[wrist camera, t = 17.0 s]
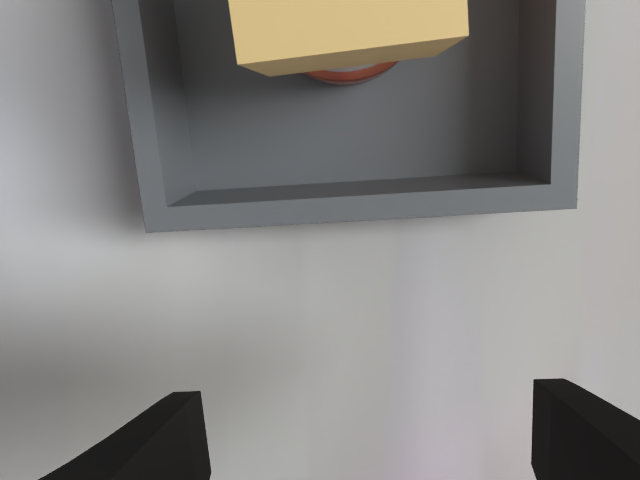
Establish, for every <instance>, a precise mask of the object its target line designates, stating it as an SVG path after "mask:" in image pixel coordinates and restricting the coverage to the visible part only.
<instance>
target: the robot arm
mask: <svg viewBox="0 0 640 480" xmlns="http://www.w3.org/2000/svg"><path fill="white" fill-rule="evenodd" d="M531 465H532V467H533V470H534V473H535V476H536V479H537V480H640V420H638V419H637V418H635V417H633V416H631V415H629V414H628V413H626V412H624V411H622V410H621V409H619V408H617V407H615V406H614V405H612V404H610V403H608V402H607V401H605V400H603V399H601V398H600V397H598V396H596V395H594V394H593V393H591V392H589V391H587V390H585V389H584V388H582V387H580V386H578V385H576V384H574V383H572V382H570V381H568V380H566V379H534V384H533V422H532V460H531ZM210 475H211V467H210V459H209V452H208V444H207V437H206V429H205V422H204V414H203V407H202V399H201V392H200V391H191V392H173V393H171V394H169V395H168V396H166V397H164V398H163V399H161V400H160V401H158V402H157V403H155V404H154V405H152V406H151V407H150V408H148V409H147V410H145V411H144V412H142V413H141V414H140V415H138V416H137V417H135V418H134V419H133V420H131V421H130V422H128V423H127V424H125V425H124V426H123V427H121V428H120V429H118V430H117V431H115V432H114V433H113V434H111V435H110V436H108V437H107V438H105V439H104V440H102V441H101V442H99V443H98V444H96V445H94V446H93V447H91V448H90V449H88V450H87V451H85V452H84V453H82V454H80V455H79V456H77V457H76V458H74V459H73V460H71V461H70V462H68V463H66V464H65V465H63V466H61V467H60V468H58V469H56V470H54V471H53V472H51V473H49V474H47V475H46V476H44V477H42V478H40V479H38V480H209V479H210Z"/></svg>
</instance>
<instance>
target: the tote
mask: <svg viewBox="0 0 640 480" xmlns="http://www.w3.org/2000/svg"><path fill="white" fill-rule="evenodd" d="M111 1H112V8H113V15H114V21H115V28H116V35H117V42H118V48H119V55H120V62H121V69H122V75H123V82H124V89H125V96H126V102H127V109H128V116H129V123H130V129H131V136H132V143H133V150H134V157H135V163H136V170H137V177H138V184H139V190H140V197H141V204H142V211H143V217H144V224H145V231H146V233H152V232H170V231H187V230H205V229H223V228H241V227H259V226H277V225H294V224H312V223H330V222H348V221H366V220H384V219H401V218H419V217H437V216H455V215H473V214H491V213H509V212H526V211H544V210H562V209H577V189H578V165H579V142H580V119H581V96H582V73H583V50H584V27H585V4H586V0H467V5H468V26H469V36H467V37H466V38H464V39H463V40H461V41H459V42H458V43H456V44H454V45H453V46H451V47H449V48H448V49H446V50H445V51H443V52H441V53H440V54H438V55H436V56H434V57H426V58H418V59H409V60H401V61H399V62H398V63H397V64H396V65H395V66H394V67H392V68H391V69H390V70H388V71H387V72H386V73H384V74H382V75H381V76H379V77H377V78H375V79H373V80H370V81H368V82H364V83H361V84H356V85H332V84H327V83H323V82H320V81H317V80H315V79H313V78H311V77H309V76H307V75H306V74H304V73H295V74H287V75H279V76H271V77H269V76H266V75H263V74H261V73H258V72H256V71H253V70H250V69H248V68H245V67H242V66H240V65H237V59H236V52H235V44H234V37H233V30H232V23H231V16H230V9H229V2H228V0H111Z"/></svg>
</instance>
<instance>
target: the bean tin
mask: <svg viewBox="0 0 640 480" xmlns="http://www.w3.org/2000/svg"><path fill="white" fill-rule="evenodd" d="M398 62H399V61H393V62H385V63H376V64H368V65H360V66H352V67H344V68H336V69H328V70H320V71H312V72H304V74H306V75H307V76H309V77H311V78H313V79H315V80H317V81H320V82H323V83H327V84H332V85H356V84H361V83H364V82H368V81H370V80H373V79H375V78H377V77H379V76H381V75H382V74H384V73H386V72H387V71H388V70H390V69H391V68H392V67H394V66H395V65H396V64H397V63H398Z"/></svg>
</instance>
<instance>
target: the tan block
mask: <svg viewBox="0 0 640 480" xmlns="http://www.w3.org/2000/svg"><path fill="white" fill-rule="evenodd" d="M228 2H229V9H230V16H231V23H232V30H233V37H234V44H235V52H236V59H237V65H240V66H242V67H245V68H248V69H250V70H253V71H256V72H258V73H261V74H263V75H266V76H269V77H271V76H279V75H287V74H295V73H304V72H312V71H320V70H328V69H336V68H344V67H352V66H360V65H368V64H376V63H385V62H393V61H401V60H409V59H418V58H426V57H434V56H436V55H438V54H440V53H441V52H443V51H445V50H446V49H448V48H449V47H451V46H453V45H454V44H456V43H458V42H459V41H461V40H463V39H464V38H466V37H467V36H469V26H468V5H467V0H228Z"/></svg>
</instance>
